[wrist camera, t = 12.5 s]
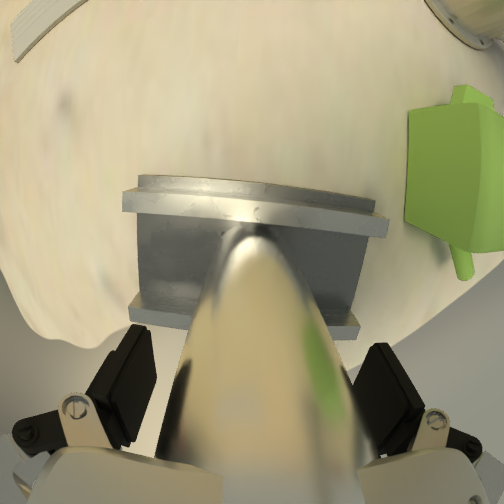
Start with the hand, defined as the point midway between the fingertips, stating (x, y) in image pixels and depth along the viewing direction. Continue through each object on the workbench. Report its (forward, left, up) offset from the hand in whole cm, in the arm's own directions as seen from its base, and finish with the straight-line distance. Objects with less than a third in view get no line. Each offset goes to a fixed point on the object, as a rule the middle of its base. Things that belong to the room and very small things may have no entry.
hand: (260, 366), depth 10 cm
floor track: (0, 0, -14) cm, 14 cm away
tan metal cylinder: (0, 0, -13) cm, 13 cm away
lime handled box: (-18, -10, -14) cm, 25 cm away
